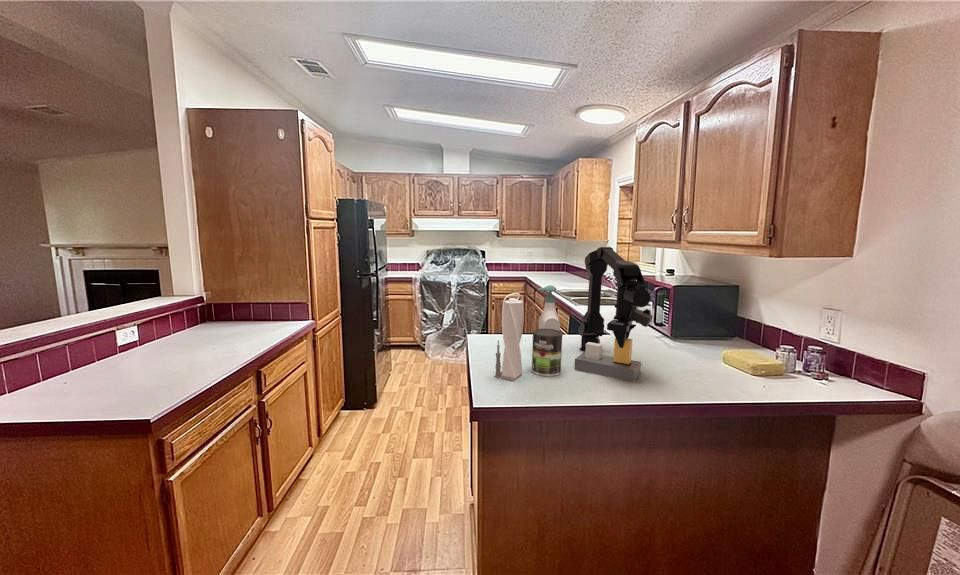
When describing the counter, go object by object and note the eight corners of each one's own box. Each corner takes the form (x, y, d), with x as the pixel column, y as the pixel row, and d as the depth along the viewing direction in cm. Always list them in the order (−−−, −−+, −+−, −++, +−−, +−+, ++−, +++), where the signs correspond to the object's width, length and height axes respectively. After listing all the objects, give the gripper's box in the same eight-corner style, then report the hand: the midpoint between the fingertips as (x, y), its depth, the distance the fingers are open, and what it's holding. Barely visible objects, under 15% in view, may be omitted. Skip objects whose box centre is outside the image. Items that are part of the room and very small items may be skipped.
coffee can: (556, 378, 131) (557, 337, 129) (527, 373, 136) (528, 333, 134) (564, 369, 140) (566, 330, 138) (537, 364, 145) (538, 327, 143)
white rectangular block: (584, 365, 140) (585, 343, 139) (587, 363, 143) (588, 341, 142) (598, 368, 138) (599, 346, 137) (601, 365, 140) (602, 344, 139)
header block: (574, 369, 139) (574, 358, 139) (584, 361, 147) (584, 351, 147) (633, 382, 128) (633, 370, 127) (640, 373, 136) (641, 361, 136)
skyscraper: (505, 369, 139) (506, 291, 135) (526, 374, 135) (528, 293, 131) (494, 377, 132) (495, 295, 128) (516, 382, 128) (517, 297, 124)
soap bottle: (533, 348, 164) (535, 283, 160) (553, 348, 164) (555, 283, 160) (538, 357, 153) (539, 287, 149) (559, 357, 153) (561, 287, 149)
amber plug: (613, 361, 134) (614, 338, 133) (616, 359, 137) (617, 336, 136) (628, 364, 132) (630, 341, 130) (631, 361, 134) (632, 339, 133)
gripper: (644, 308, 119) (641, 358, 121) (657, 299, 134) (653, 344, 137) (607, 304, 125) (605, 351, 128) (623, 296, 141) (620, 338, 143)
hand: (622, 346), depth 134 cm, fingers closed on amber plug, 3 cm apart
